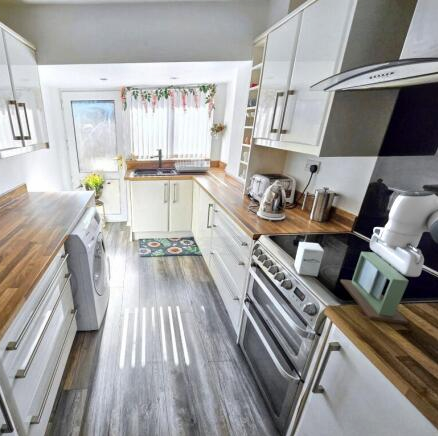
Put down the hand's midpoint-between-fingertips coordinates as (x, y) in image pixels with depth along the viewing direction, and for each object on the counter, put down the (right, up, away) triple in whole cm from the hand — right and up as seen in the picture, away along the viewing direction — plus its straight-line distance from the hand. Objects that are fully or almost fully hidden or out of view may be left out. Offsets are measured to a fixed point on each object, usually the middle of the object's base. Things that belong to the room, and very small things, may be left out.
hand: (386, 272), depth 86 cm
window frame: (-5, -10, +1) cm, 12 cm away
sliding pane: (-2, -8, +1) cm, 8 cm away
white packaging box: (-16, -4, +20) cm, 26 cm away
